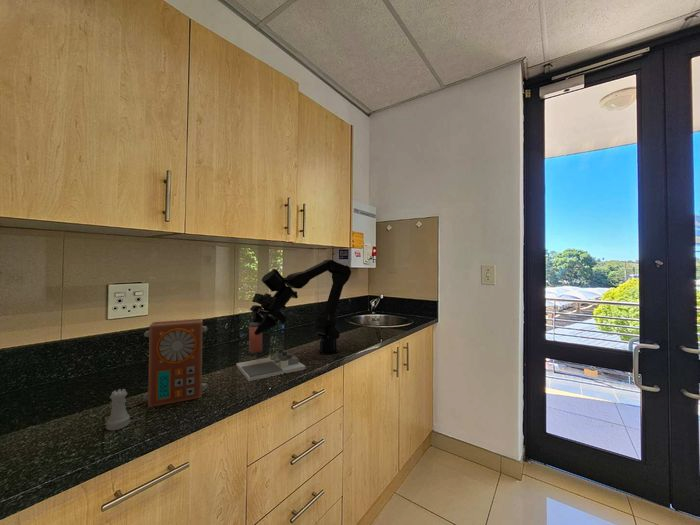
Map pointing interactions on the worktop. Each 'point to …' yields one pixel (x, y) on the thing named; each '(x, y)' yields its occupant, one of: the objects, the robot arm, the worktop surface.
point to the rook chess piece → (118, 411)
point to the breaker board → (270, 366)
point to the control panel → (175, 361)
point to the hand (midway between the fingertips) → (252, 333)
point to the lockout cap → (254, 338)
